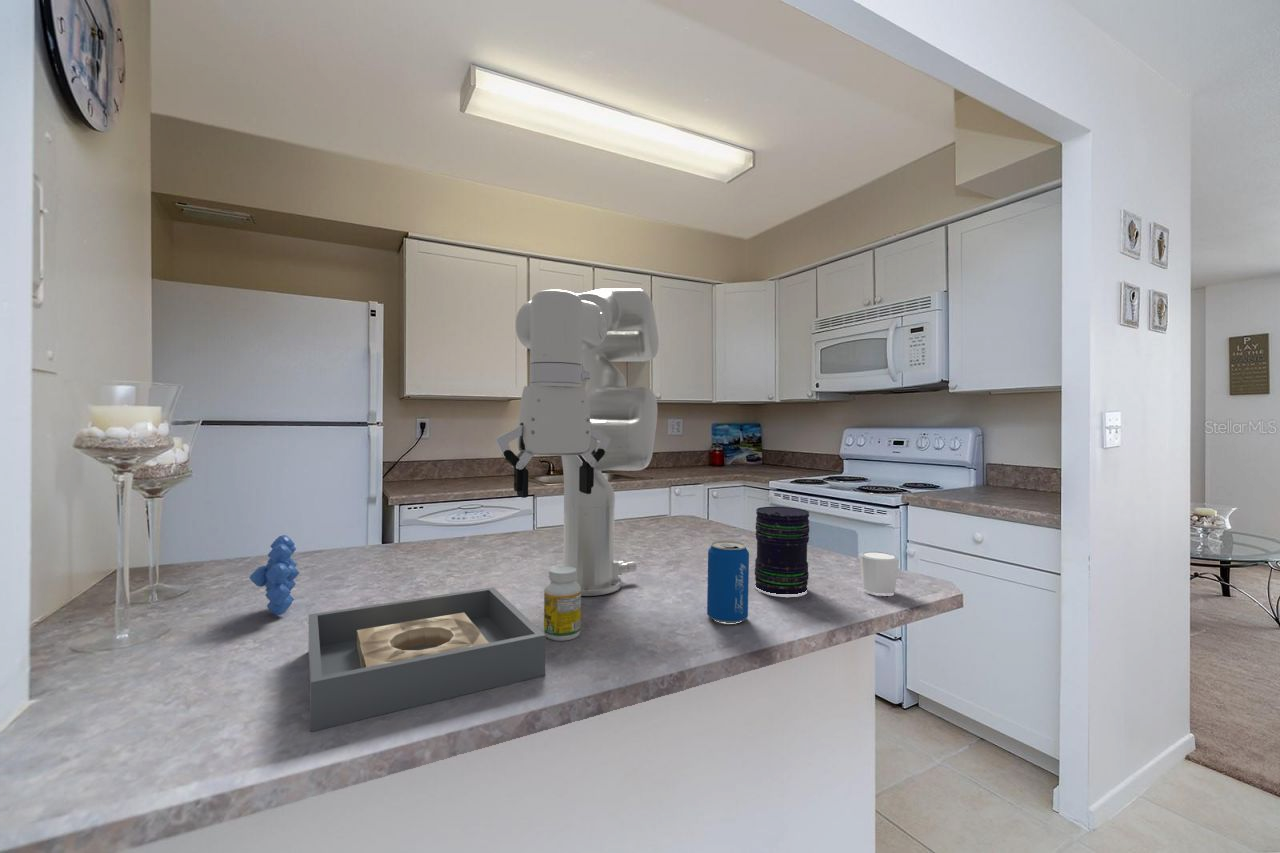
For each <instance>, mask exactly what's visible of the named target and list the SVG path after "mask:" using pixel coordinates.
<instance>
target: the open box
mask: <svg viewBox="0 0 1280 853" xmlns="http://www.w3.org/2000/svg"><path fill="white" fill-rule="evenodd" d="M463 612H464V613H465V614H466V615H467V617H468V618H469V619H470V620H471V621H472V623H473V624H474V625H475V626H476V627H477V628H478V630H479V631H480V632H481V634H482V635H483V636H484V638H485V639H486V640H487V641H488V642H489V643H486V644H481V645H476V646H471V647H466V648H461V649H456V650H451V651H446V652H441V653H436V654H431V655H426V656H421V657H416V658H411V659H406V660H401V661H396V662H390V663H385V664H380V665H375V666H370V667H365V668H361V666H360V659H359V655H358V651H357V630H361V629H367V628H373V627H379V626H385V625H391V624H397V623H402V622H408V621H414V620H420V619H426V618H433V617H439V616H445V615H451V614H457V613H463ZM546 640H547V637H546V635H545V634H544V631H542V630H541V629H540V628H539V627H537V625H535V624H534V623H533V622H532V621H531V620H530V619H529V618H528V617H527V616H525V614H524V613H523V612H521V611H520V609H518V608H516V606H514V604H512V602H511V601H510V600H508V599H507V598H506V597H505V596H504V595H503V594H502V593H501V592H500V591H498V590H497V589H496V588H495V587H486V588H479V589H474V590H467V591H460V592H453V593H446V594H445V593H444V594H440V595H438V594H437V595H431V596H425V597H424V596H423V597H419V598H412V599H405V600H399V601H397V600H396V601H391V602H385V603H376V604H369V605H365V606H357V607H350V608H344V609H337V610H336V609H335V610H329V611H323V612H315V613H310V614H309V613H308V652H307V653H308V681H309V683H308V684H309V686H308V687H309V719H310V720H309V721H310V724H309V725H310V732H315V731H320V730H323V729H327V728H332V727H337V726H339V725H340V726H341V725H344V724H349V723H353V722H358V721H361V720H365V719H368V718H373V717H378V716H382V715H385V714H389V713H394V712H398V711H403V710H407V709H410V708H411V709H412V708H414V707H419V706H424V705H427V704H432V703H435V702H439V701H444V700H448V699H451V698H457V697H461V696H464V695H469V694H472V693H477V692H481V691H485V690H489V689H493V688H497V687H502V686H506V685H509V684H514V683H519V682H523V681H526V680H527V681H528V680H530V679H536V678H539V677H544V676H546V652H547V651H546V649H547V646H546V644H547V641H546ZM438 646H440V645H421V646H416V647H410V648H407V649H405V650H424V649H429V648H434V647H438ZM543 675H544V676H543Z"/></svg>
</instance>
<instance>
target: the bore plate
mask: <svg viewBox="0 0 1280 853" xmlns="http://www.w3.org/2000/svg"><path fill="white" fill-rule="evenodd" d="M486 643H489V642H488V641H487V640H486V639H485V638H484V636H483V635H482V634H481V632H480V631H479V630H478V628H477V627H476V626H475V625H474V624H473V623H472V621H471V620H470V619H469V618H468V617H467V615H466V614H465V613H464V612H463V613H457V614H451V615H445V616H439V617H433V618H426V619H420V620H414V621H408V622H402V623H397V624H391V625H385V626H379V627H373V628H367V629H361V630H357V651H358V655H359V659H360V666H361V668H365V667H370V666H375V665H380V664H385V663H390V662H396V661H401V660H406V659H411V658H416V657H421V656H426V655H431V654H436V653H441V652H446V651H451V650H456V649H461V648H466V647H471V646H476V645H481V644H486ZM421 645H440V646H438V647H434V648H429V649H424V650H405V649H407V648H410V647H416V646H421Z"/></svg>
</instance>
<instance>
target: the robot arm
mask: <svg viewBox="0 0 1280 853" xmlns="http://www.w3.org/2000/svg"><path fill="white" fill-rule="evenodd" d="M515 318H516V319H515V331H516V332H515V333H516V336H517V338H518V340H519V342H520V343H521V344H522V345H523V346H524V347H525V348H527V349H529V385H525V386H524V387H523V389H522V395H521V400H520V406H519V415H518V423H517V424H518V425H517V426H516V427H514V428H512V429H510V430H508V431H506V432H504V433H502V434H500V435H499V436H496V438H494V443H495V444H496V446H497V448H498V450H499V452H500V453H501V456H502V458H503V459H504V460H505V461H507V462H508V463H509V465H511V467H512V468H513V470H514V471H513V490H514V492H516V495H517V496H518V497H520V498H521V499H523V498H528V497H529V470H528V469H527V467H526V466H527V464H528V463H529V462H530V461H531V460H532V458H533V457H534V456H541V457H543V456H561V463H562V464H561V465H562V471H563V472H562V473H563V548H562V549H563V551H562V555H563V556H562V557H563V560H562V563H563V564H562V566H569V567H574V568H576V570H577V578H576V580H575V581H576V582H577V583H579V585H580V587H581V597H594V596H604V595H608V594H609V595H610V594H612V593H615V592H616V591H618V590H619V589H621V588H622V585H623V584H622V583H623V581H622V578H621V577H620V576H622V575H623V573H634V572H636V571H637V564H636V562H635V561H629V562H624V561H623V560H618V561H617V560H615V507H616V506H615V505H616V503H615V501H616V500H615V499H616V496H615V491H614V488H613V486H612V485H611V483H610V482H609V480H608V479H607V477H606V476H605V475H604V474H603V472H602V471H628V472H630V471H643V470H644V469H646V468H647V467H648V466H649V465H650V463H651V461H652V458H653V452H654V449H655V448H654V447H655V446H654V445H655V439H656V432H657V431H656V430H657V423H658V411H659V410H658V402H657V397H656V395H655V393H654V391H653V390H652V389H650V388H649V387H646V386H639V385H638V386H637V385H634V386H633V385H632V386H631V385H628V386H627V380H626V378H625V376H624V374H623V373H622V372H621V371H620V370H619V368H618V367H617V366H615V365H614V363H612V362H618V363H619V362H620V363H621V362H624V363H625V362H628V363H629V362H632V363H633V362H644V363H645V362H649V361H652V360H653V359H655V358H656V356H657V354H658V351H659V346H660V345H659V341H660V340H659V332H658V327H657V322H656V320H657V319H656V315H655V309H654V306H653V303H652V299H651V298H650V295H649V294H648V293H647V292H646V290H643V289H641V288H634V287H633V288H630V287H629V288H599V289H598V288H597V289H594V290H590V291H587V292H582V293H580V292H579V293H574V292H572V291H568V290H564V289H563V290H562V289H546V290H545V289H544V290H541V291H537V292H536V293H535V294H534V295H533V296H532V298H531V300H529V301H527V302H524V304H523V305H522V306H521V307H520V308H519V309H518V312H517V315H516V317H515ZM585 381H586V384H585V386H584V387H583V386H582V385H583V384H584V382H585ZM515 439H516V440H517V442H516V443H517V444H516V445H517V450H518V451H519V452H518V453H517V454H515V453H514V451H512V449H511V447H510V442H512V441H513V440H515Z"/></svg>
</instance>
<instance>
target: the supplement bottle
mask: <svg viewBox="0 0 1280 853" xmlns="http://www.w3.org/2000/svg"><path fill="white" fill-rule="evenodd" d="M548 570H549V571H548V578H549V580H550V581H549V582H548V583H547V584H546V585H545V586H544V590H543V592H544V593H543V594H544V596H543V597H544V598H543V601H544V602H543V606H544V608H543V613H544V614H543V633H544V634H545V635H546V639H549V640H551V641H557V642H558V641H559V642H561V641H564V642H565V641H570V640H574V639H576V638H578V637H579V636H580V635H581V632H582V631H581V630H582V629H581V628H582V621H581V619H582V617H581V615H582V614H581V613H582V612H581V611H582V608H581V607H582V596H581V587H580V585H579V583H577V582H576V581H575V580H576V578H577V570H576V568H574V567H569V566H563V565H562V566H561V565H560V566H553V567H551V568H549V569H548Z"/></svg>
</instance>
